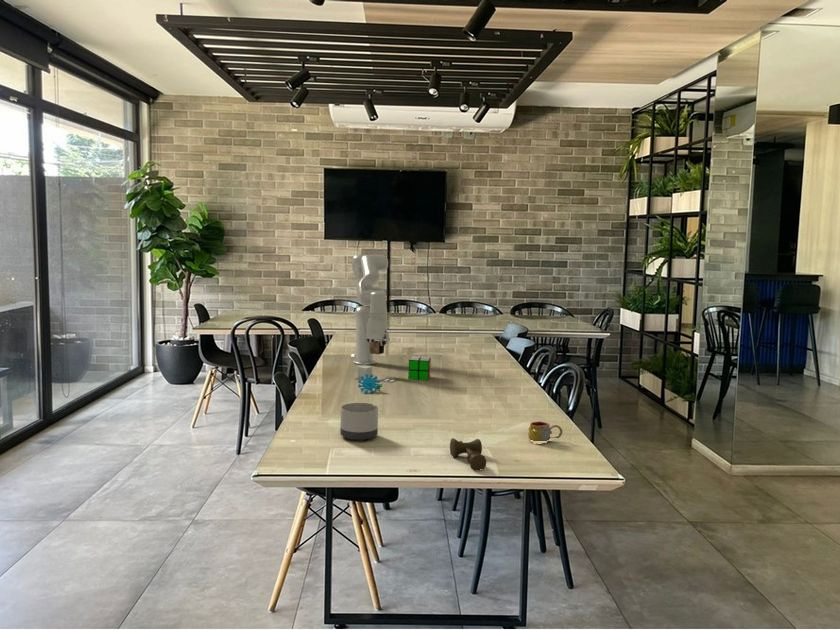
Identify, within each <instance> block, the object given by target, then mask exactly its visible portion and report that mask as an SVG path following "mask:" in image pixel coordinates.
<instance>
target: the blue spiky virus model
mask: <svg viewBox="0 0 840 630" xmlns="http://www.w3.org/2000/svg"><path fill="white" fill-rule="evenodd" d="M365 377H366V379H364V377H363V376H362V377H361V379H362V380H363V381H361V380H357V383H358V385H357V386H358V388H359V389H360V391H361V393H362V392H364V394H368V393H370V394H374V392H377V391H380V390H381V389H382V388H383V383H381V381H380V380H381V379H378V375H375V376H374V374H373V373H372V374H371V375H370V377H369V378H367V377H368V374H365ZM371 377H372V378H371ZM358 388H357V389H358ZM373 389H374V392H373Z"/></svg>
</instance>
